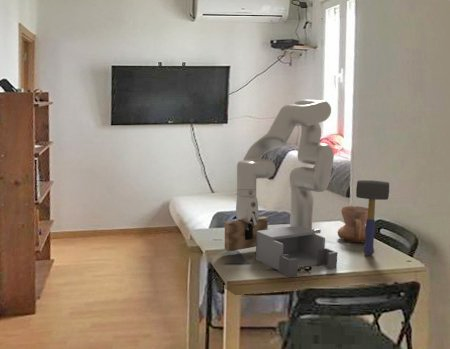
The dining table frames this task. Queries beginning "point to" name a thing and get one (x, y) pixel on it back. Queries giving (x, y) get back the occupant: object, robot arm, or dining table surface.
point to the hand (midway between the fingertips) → (246, 237)
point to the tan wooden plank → (242, 234)
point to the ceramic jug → (353, 223)
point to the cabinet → (293, 249)
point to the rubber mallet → (371, 206)
